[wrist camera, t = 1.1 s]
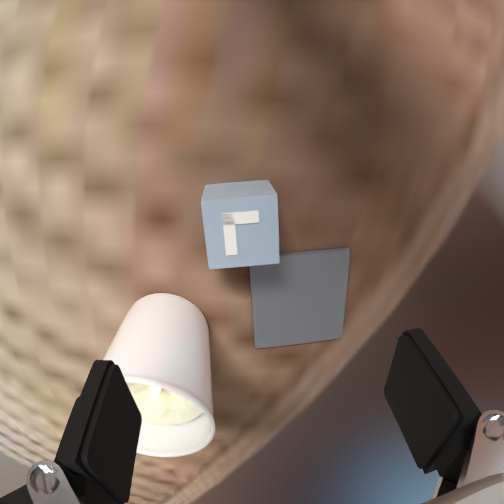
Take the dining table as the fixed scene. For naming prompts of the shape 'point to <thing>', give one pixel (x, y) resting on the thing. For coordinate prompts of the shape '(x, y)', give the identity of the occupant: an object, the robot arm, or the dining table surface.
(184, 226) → the dining table surface
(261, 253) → the letter block
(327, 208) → the dining table surface
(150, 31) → the dining table surface
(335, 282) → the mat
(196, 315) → the candle holder
